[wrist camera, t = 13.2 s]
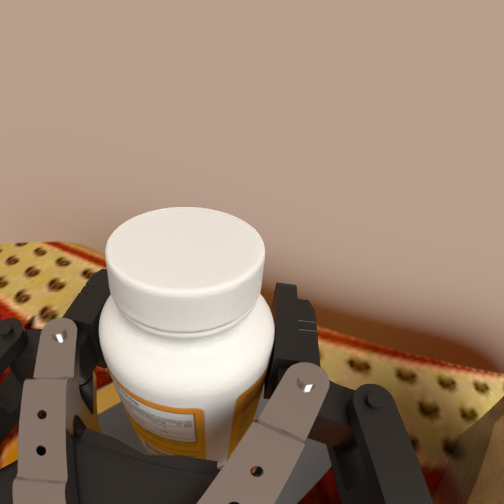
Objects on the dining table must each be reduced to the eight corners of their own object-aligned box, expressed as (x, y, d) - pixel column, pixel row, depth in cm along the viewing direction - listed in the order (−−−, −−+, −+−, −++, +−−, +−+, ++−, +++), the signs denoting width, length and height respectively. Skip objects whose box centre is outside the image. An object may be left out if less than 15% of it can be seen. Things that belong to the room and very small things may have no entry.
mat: (51, 421, 16) (46, 414, 15) (203, 338, 25) (203, 329, 24) (182, 590, 8) (181, 592, 7) (342, 452, 17) (348, 446, 16)
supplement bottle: (222, 365, 16) (239, 189, 11) (271, 449, 12) (341, 282, 7) (124, 390, 14) (77, 208, 8) (156, 487, 10) (79, 344, 4)
